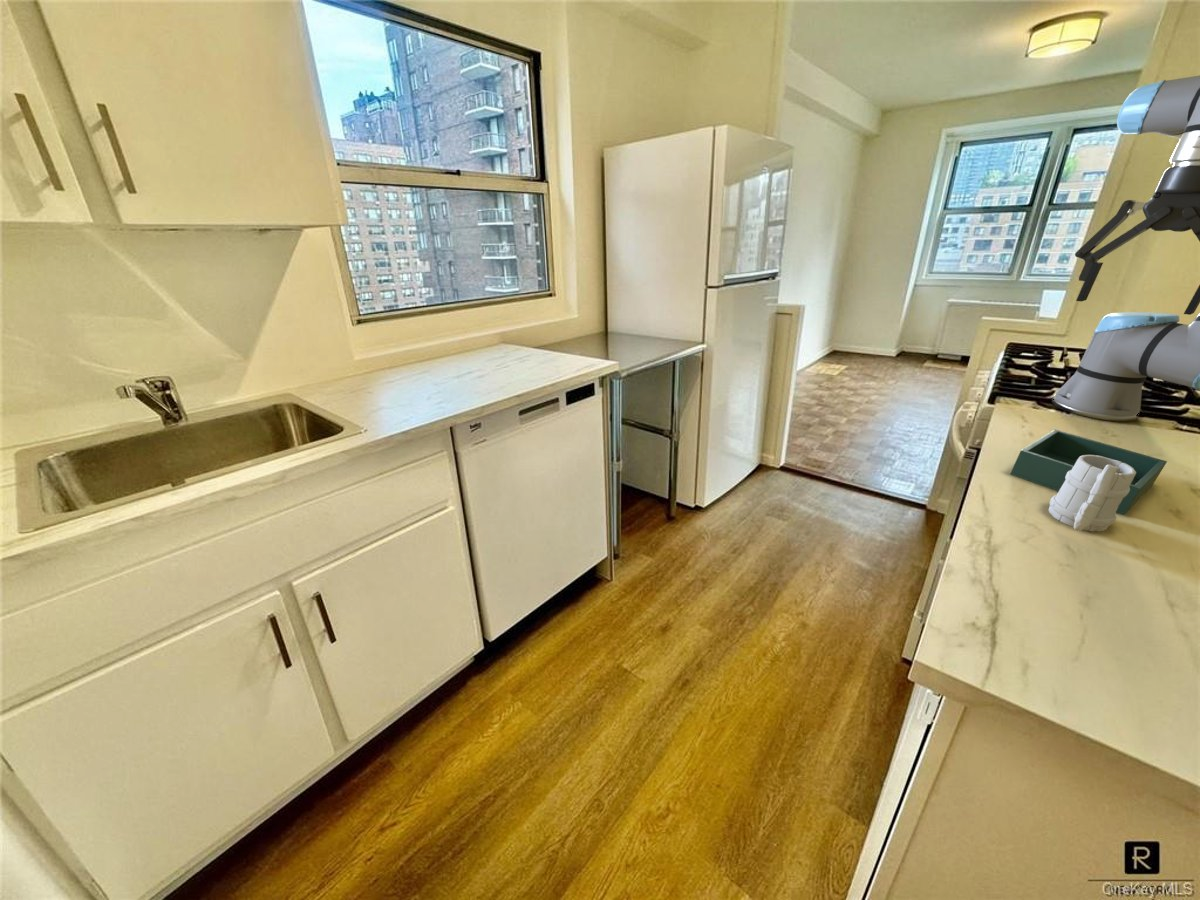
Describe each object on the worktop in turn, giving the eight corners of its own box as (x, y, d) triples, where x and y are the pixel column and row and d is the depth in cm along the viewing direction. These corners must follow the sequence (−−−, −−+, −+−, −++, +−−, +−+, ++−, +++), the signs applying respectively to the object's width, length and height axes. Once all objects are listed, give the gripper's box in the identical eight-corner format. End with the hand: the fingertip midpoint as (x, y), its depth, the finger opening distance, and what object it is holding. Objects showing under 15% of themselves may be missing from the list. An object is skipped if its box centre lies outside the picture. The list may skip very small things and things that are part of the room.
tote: (1044, 451, 97) (1054, 429, 95) (1152, 485, 86) (1167, 461, 83) (1009, 474, 89) (1020, 450, 87) (1124, 515, 78) (1140, 488, 75)
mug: (1110, 518, 77) (1150, 451, 71) (1108, 552, 69) (1152, 480, 64) (1048, 499, 81) (1081, 435, 76) (1040, 529, 74) (1075, 461, 68)
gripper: (1088, 167, 81) (1035, 297, 91) (1337, 158, 63) (1237, 322, 72) (1102, 169, 85) (1050, 294, 95) (1342, 161, 66) (1246, 317, 76)
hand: (1131, 306), depth 84 cm, fingers open, 13 cm apart
